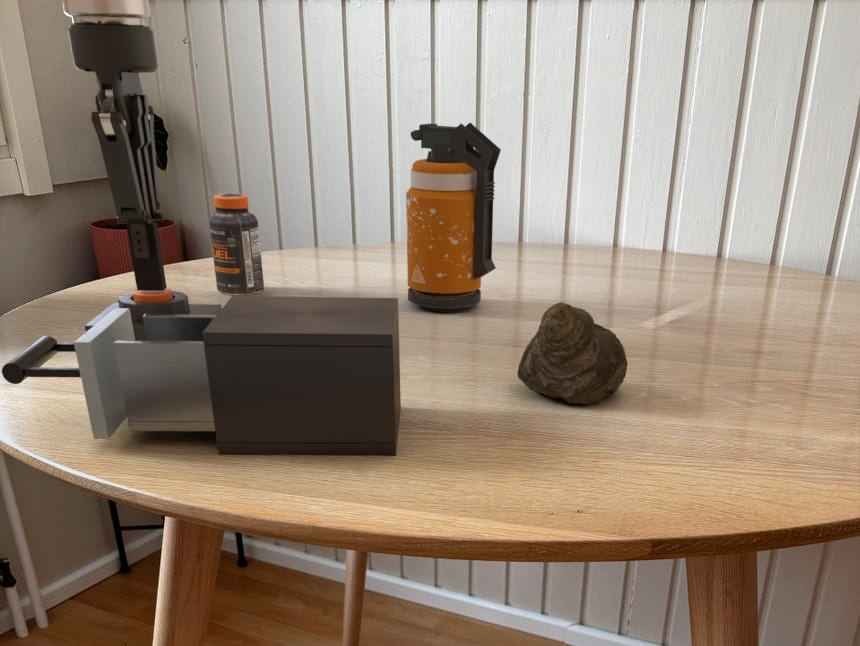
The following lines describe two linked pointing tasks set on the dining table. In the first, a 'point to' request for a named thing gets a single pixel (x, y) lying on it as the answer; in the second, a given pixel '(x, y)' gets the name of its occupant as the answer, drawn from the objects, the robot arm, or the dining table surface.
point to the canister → (450, 217)
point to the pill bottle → (236, 246)
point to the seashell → (573, 357)
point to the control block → (155, 310)
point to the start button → (152, 295)
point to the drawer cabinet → (305, 375)
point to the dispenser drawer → (133, 372)
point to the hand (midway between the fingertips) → (152, 288)
